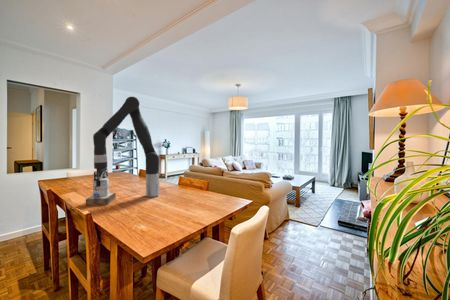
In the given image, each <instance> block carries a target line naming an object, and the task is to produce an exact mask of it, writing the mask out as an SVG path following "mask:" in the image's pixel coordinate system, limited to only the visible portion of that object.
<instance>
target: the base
mask: <svg viewBox="0 0 450 300" xmlns="http://www.w3.org/2000/svg"><path fill="white" fill-rule="evenodd" d="M116 197H117V193H116V192H109V195H108V196H105V197H93V195H91V196H90V197H87V198H86V199H85V206H108V205H109V204H111V203H112V202H113V201H115V200H116V199H117V198H116Z"/></svg>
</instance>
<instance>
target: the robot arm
mask: <svg viewBox="0 0 450 300" xmlns="http://www.w3.org/2000/svg"><path fill="white" fill-rule="evenodd" d="M127 116H129V117H130V118H131V123H132V126H133V130H134V132H135V135H136V137H137V140H138V142H139V144H140V145H141V147H142V149H143V152H144V156H145V196H146V197H147V198H155V197H159V195H160V181H159V180H160V178H159V177H160V174H159V173H160V172H159V171H160V158H159V157H160V156H159V155H158V154H157V152H156V150H155V148H154V145H153V141H152V136H151V133H150V130H149V127H148V125H147V123H146V122H145V120H144V118H143V117H142V113H141V111H140V101H139V99H138V98H137V97H135V96H129V97H128V96H127V98H126V99H125V101H124V102H123V104H122V105H121V107H120V108H119V109H118V110H117V111H116V112H115V113H114V114H113V115H112V116H111V117H110V118H109V119H108V120H107V121H106V122H104V124H103V125H102V127H100V129H98V130H97V131H96V132H95V133H93V135H92V136H93V137H92V138H93V168H94V169H95V170H96V171H93V180H94V181H96V186H97V187H100V180H101V178H108V174H109V173H108V155H107V143H106V142H107V139H108V137H109V136H110V135H111V134H112V133H113V132H114V131H115V130H116V129H117V128H118V127H119V126H120V125H121V124H122V122H123V121H124V120H125V119H126V118H127Z"/></svg>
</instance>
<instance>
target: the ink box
mask: <svg viewBox="0 0 450 300" xmlns="http://www.w3.org/2000/svg"><path fill="white" fill-rule="evenodd" d="M109 193H110V179H109V177H107V178H101V180H100V187H97V186H96V181H94V179H93V180H92V196H93V197H105V196H108V195H109Z"/></svg>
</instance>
